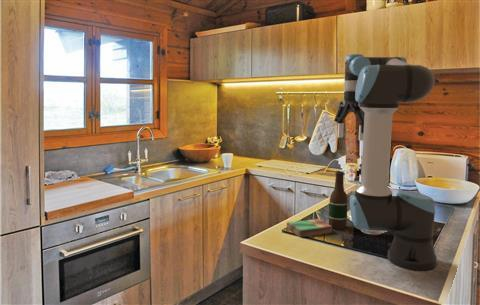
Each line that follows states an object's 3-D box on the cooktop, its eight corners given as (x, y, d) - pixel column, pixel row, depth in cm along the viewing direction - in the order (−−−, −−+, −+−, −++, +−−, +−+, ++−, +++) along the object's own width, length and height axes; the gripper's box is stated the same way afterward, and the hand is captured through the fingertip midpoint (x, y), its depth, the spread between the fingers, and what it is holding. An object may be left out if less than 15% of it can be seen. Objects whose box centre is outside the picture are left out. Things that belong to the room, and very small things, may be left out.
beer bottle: (333, 223, 172) (335, 169, 168) (349, 226, 167) (352, 171, 163) (324, 227, 166) (326, 171, 162) (341, 231, 161) (344, 174, 157)
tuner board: (332, 232, 160) (332, 226, 159) (299, 237, 154) (300, 230, 154) (317, 224, 170) (317, 218, 169) (286, 228, 164) (286, 222, 164)
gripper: (380, 90, 162) (377, 141, 165) (340, 91, 185) (338, 135, 188) (367, 90, 159) (364, 142, 162) (327, 90, 181) (326, 136, 184)
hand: (350, 139), depth 175 cm, fingers open, 13 cm apart
